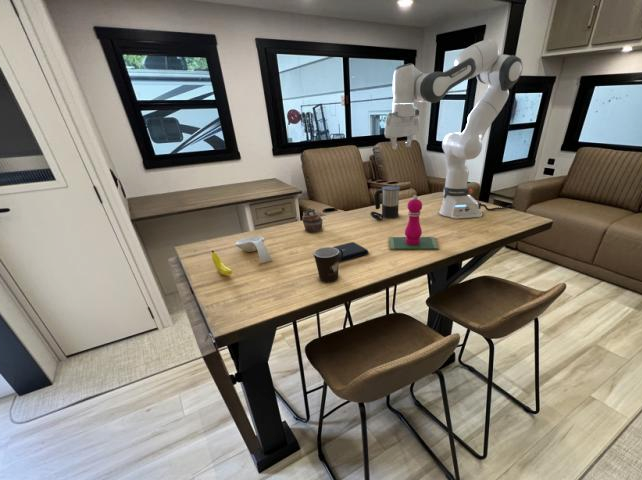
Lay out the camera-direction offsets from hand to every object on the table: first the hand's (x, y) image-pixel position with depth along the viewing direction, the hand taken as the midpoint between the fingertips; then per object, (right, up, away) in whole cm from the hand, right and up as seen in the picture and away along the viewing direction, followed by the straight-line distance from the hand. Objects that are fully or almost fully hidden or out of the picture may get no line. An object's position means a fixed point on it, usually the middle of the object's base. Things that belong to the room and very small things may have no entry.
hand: (401, 147), depth 140 cm
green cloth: (+5, -43, -3) cm, 43 cm away
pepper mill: (+4, -43, -3) cm, 43 cm away
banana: (-68, -58, -24) cm, 92 cm away
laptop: (-26, -49, -10) cm, 56 cm away
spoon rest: (-62, -48, -8) cm, 79 cm away
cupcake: (-42, -33, +15) cm, 55 cm away
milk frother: (-6, -23, +29) cm, 38 cm away
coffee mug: (-28, -60, -27) cm, 71 cm away
